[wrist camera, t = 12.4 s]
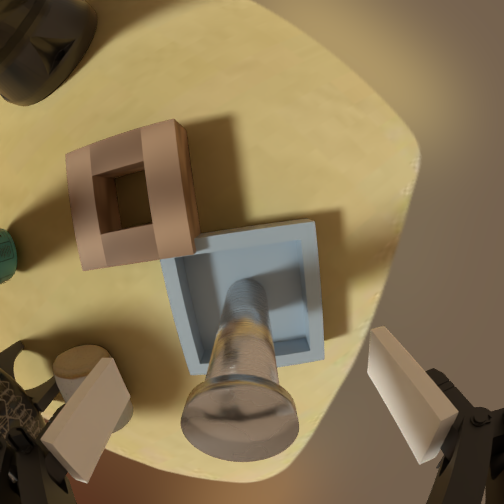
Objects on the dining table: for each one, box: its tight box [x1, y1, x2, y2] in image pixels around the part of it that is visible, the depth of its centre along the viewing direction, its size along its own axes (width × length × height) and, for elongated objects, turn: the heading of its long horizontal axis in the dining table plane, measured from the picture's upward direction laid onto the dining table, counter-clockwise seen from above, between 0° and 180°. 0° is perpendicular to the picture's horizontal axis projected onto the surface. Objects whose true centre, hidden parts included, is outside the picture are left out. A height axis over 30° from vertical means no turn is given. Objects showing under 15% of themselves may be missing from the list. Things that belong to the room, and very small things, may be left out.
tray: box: [160, 218, 324, 375], centre depth 23 cm, size 12×12×3 cm
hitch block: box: [66, 119, 201, 271], centre depth 21 cm, size 10×10×4 cm
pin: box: [181, 279, 299, 462], centre depth 16 cm, size 5×5×15 cm
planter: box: [0, 341, 60, 482], centre depth 18 cm, size 13×13×18 cm
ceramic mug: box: [53, 345, 133, 433], centre depth 23 cm, size 11×8×8 cm
